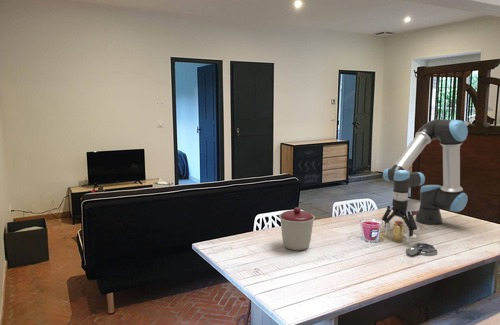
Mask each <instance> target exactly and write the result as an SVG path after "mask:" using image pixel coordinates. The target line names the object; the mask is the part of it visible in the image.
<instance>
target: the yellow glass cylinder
mask: <svg viewBox="0 0 500 325" xmlns="http://www.w3.org/2000/svg"><path fill="white" fill-rule="evenodd" d="M404 228H405V226H404V221H401V220H395V221H394V223H393V229H392V230H393V231H392V232H393V233H392V241H393V242H394V243H398V244H399V243H403V241H404V236H403V234H404V230H405V229H404Z"/></svg>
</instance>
